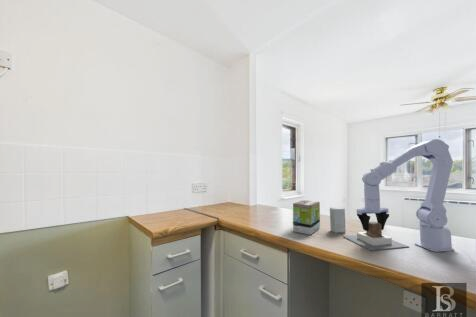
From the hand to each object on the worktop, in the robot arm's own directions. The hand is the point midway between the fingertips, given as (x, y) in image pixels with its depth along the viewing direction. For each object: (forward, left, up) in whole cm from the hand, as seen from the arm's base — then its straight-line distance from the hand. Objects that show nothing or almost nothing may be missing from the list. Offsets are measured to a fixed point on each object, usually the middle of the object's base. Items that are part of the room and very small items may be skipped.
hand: (373, 229), depth 89 cm
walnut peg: (0, 0, -5) cm, 5 cm away
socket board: (0, 0, -5) cm, 5 cm away
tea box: (+20, -22, -6) cm, 30 cm away
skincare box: (+6, -16, -6) cm, 18 cm away
